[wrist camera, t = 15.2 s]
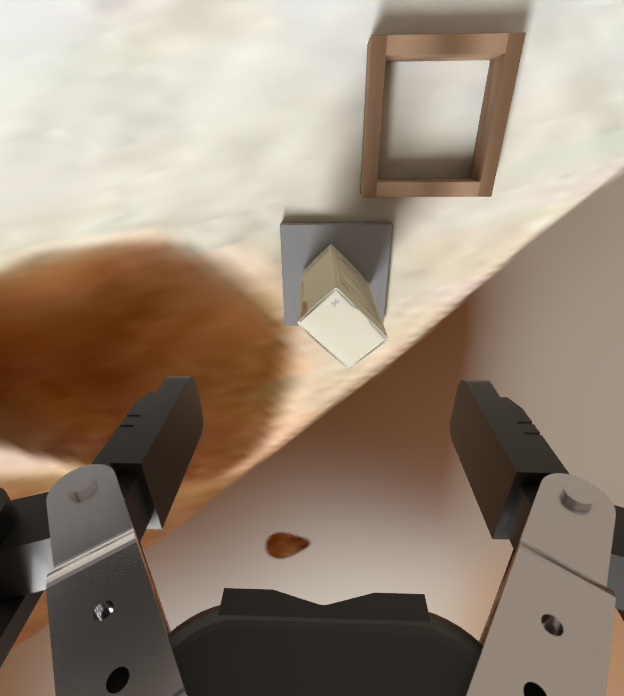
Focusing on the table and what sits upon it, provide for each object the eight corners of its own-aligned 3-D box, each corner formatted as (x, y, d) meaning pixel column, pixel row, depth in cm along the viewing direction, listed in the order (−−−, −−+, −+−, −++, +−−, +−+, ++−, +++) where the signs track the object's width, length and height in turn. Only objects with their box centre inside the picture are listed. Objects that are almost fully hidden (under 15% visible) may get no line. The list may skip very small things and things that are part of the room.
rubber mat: (285, 321, 44) (284, 325, 43) (281, 222, 38) (280, 225, 37) (381, 321, 43) (383, 326, 42) (390, 222, 38) (392, 224, 37)
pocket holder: (360, 192, 37) (362, 196, 34) (367, 43, 31) (371, 35, 28) (479, 192, 36) (491, 196, 34) (508, 41, 31) (525, 32, 28)
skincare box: (301, 270, 39) (291, 321, 29) (331, 241, 38) (333, 283, 27) (342, 311, 42) (348, 372, 31) (373, 285, 40) (390, 340, 29)
